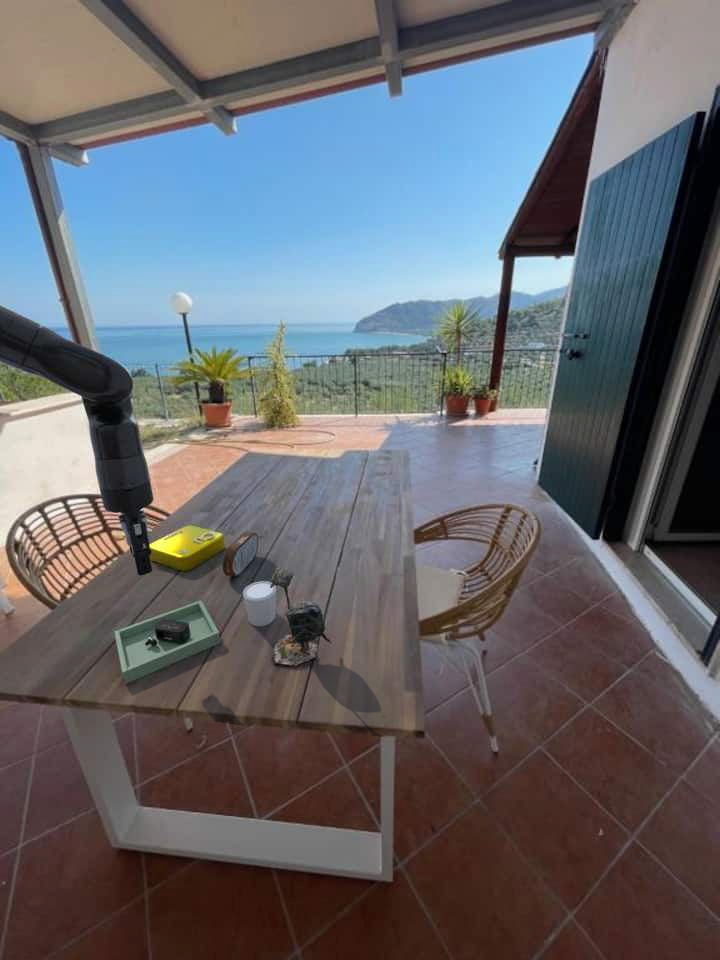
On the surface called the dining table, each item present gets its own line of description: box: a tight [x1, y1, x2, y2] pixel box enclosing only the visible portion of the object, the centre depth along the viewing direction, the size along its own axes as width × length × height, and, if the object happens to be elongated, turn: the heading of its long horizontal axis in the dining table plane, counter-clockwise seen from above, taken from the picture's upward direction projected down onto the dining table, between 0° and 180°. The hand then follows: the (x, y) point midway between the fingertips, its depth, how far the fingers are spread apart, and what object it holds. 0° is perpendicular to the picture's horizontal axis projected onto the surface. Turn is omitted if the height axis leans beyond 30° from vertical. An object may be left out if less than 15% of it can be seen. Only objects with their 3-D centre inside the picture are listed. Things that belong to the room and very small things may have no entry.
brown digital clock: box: [222, 530, 259, 577], centre depth 102 cm, size 15×3×8 cm, turn 168°
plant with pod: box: [270, 566, 332, 667], centre depth 71 cm, size 8×11×20 cm
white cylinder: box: [242, 580, 277, 627], centre depth 83 cm, size 7×7×7 cm
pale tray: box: [114, 600, 221, 685], centre depth 77 cm, size 17×13×3 cm
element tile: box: [149, 524, 226, 572], centre depth 109 cm, size 15×15×5 cm
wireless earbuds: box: [145, 619, 191, 646], centre depth 76 cm, size 5×7×3 cm, turn 78°
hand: (141, 562), depth 71 cm, fingers open, 8 cm apart
